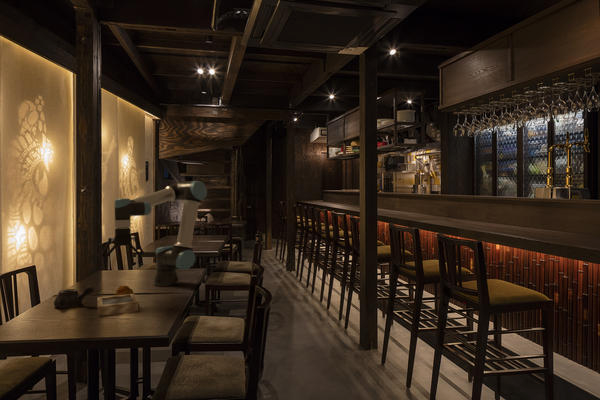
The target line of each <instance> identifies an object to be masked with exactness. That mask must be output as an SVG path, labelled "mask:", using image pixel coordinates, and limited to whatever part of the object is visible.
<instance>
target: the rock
mask: <svg viewBox="0 0 600 400" xmlns="http://www.w3.org/2000/svg"><path fill="white" fill-rule="evenodd" d="M126 294H134V290H133V289H132V288H130V286H128V285H120V286H118V288H117V289H116V290H115V295H114V296H117V295H126Z"/></svg>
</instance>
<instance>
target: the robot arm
mask: <svg viewBox="0 0 600 400" xmlns="http://www.w3.org/2000/svg"><path fill="white" fill-rule="evenodd" d="M207 195H208V190H207V187H206V184H205V183H203V182H202V181H199V180H191V181H186V180H185V181H180V182H176V183H173V184H171V185H167V186H166V187H165V188H164V189H160V190H158V191H155V192H151V193H148V194H145V195H142V196H139V197H135V198H133V199H132V198H131V199H130V198H116V199H115V200H114V237H108V240H107V241H108V242H107V243H106V245H105V247H104V249H103V250H102V253H101V256H102V257H104V258H105V264H107V270H108V271H110V270H111V264H110V263H111V260H110V259H111V257H110V255H111V254H112V253H113V252H114V250H115V249H116V248H117V247H118V246H119V247H122V246H123V247H127V246H129V247H130V249H132V250H133V251H134V252H135V253H136V254H135V255H136V256H135V268H137V269H138V268H139V262H141V255H143V254H144V253H145V251H144V250H143V248H142V245H140V243H139V241H138V237H137V236H136V235H134V236H133V237H132V236H131V235H132V233H131V232H132V231H131V227H132V226H131V223H132V222H131V217H136V216H137V217H138V216H142V217H143V216H148V215H150V213H152V207H155V206H157V205H160V204H163V203H166V202H174V201H180V200H181V202H182V203H183V206H182V207H183V208H182V213H181V217H180V222H179V229H178V233H177V239H176V243H174V244H173V245H171V246H162V247H157V248H156V250H155V265H156V266H155V270H156V271H155V272H156V273H155V275H154V279H153V286H155V287H172V286H176V285H179V284H180V278H179V275H178V272H177V270H188V269H190V268H191V267H192V266H193V265H194V264H195V261H196V254H195V252H194V251H193V250H194V247H193V245H192V244H193V243H192V241H193V237H194V230H195V226H196V225H195V224H196V221H197V215H198V209H199V206H201V205H202V202H203V200H204V199H205V198H206V197H207ZM132 240H133V242H135V244H136V246H137V248H138V249H137V248H136V247H135V246H134V245H133V244H132V243H131V241H132ZM113 241H114V242H115V243H114V245H113V246H112V247H111V248H110V249H109V247H110V245H111V243H113ZM108 249H109V251H108V252H107V250H108Z"/></svg>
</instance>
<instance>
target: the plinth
mask: <svg viewBox="0 0 600 400" xmlns="http://www.w3.org/2000/svg"><path fill="white" fill-rule="evenodd" d="M138 311H139V301H138V299H137V297H136V294H135V293H133V294H126V295H117V296H115V295H111V296H109V295H108V296H98V297H97V316H98V317H100V316H107V315H115V314H125V313H131V312H138Z"/></svg>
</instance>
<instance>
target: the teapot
mask: <svg viewBox="0 0 600 400" xmlns="http://www.w3.org/2000/svg"><path fill="white" fill-rule="evenodd" d="M94 290H95V289H94V286H92V285H87V286H86V287H85V288H84V291H83V292H82V293H79V292H78V289H77V288H66V289H61V290H59V291H58V294H57V295H56V297H55V299H54V300H53V301H54V302H53V305H54V307H55V308H61V309H65V308H67V309H68V308H72V307H77V306H79V305H81V304H82V303H83V300H84V299H85V297H86V296H89V295H91V294H92V293H93V292H94Z"/></svg>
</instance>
